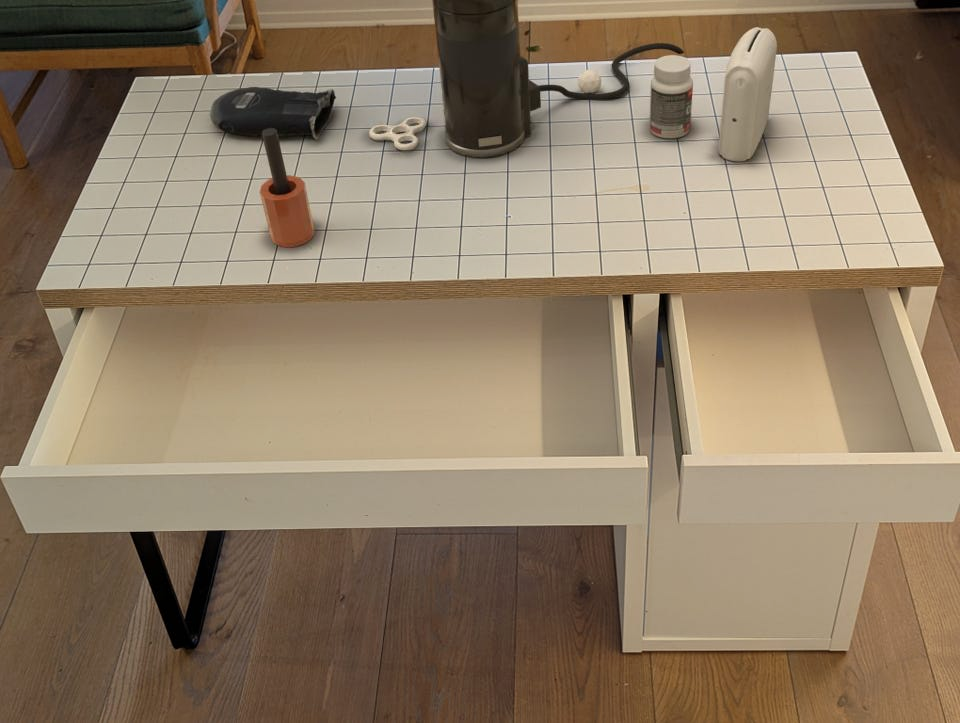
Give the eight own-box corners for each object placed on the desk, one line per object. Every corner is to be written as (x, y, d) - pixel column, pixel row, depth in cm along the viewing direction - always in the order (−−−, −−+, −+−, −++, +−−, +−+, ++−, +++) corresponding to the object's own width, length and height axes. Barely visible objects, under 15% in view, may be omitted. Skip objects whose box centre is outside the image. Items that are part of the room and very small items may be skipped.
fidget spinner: (422, 119, 132) (421, 113, 131) (438, 143, 127) (437, 138, 126) (367, 132, 130) (366, 126, 130) (381, 157, 126) (380, 151, 125)
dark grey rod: (295, 225, 116) (273, 126, 108) (301, 231, 115) (279, 132, 107) (282, 229, 115) (259, 131, 107) (288, 236, 114) (265, 137, 106)
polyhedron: (601, 87, 135) (601, 64, 133) (600, 98, 133) (601, 76, 131) (578, 87, 135) (578, 65, 133) (577, 98, 133) (577, 76, 131)
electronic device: (340, 114, 137) (228, 95, 139) (337, 78, 133) (221, 58, 134) (318, 161, 131) (201, 140, 133) (315, 125, 127) (194, 104, 129)
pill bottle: (693, 137, 124) (698, 70, 119) (653, 141, 124) (656, 74, 119) (685, 117, 128) (689, 51, 122) (645, 121, 128) (648, 55, 122)
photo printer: (751, 165, 119) (763, 62, 111) (713, 159, 121) (722, 56, 112) (771, 120, 126) (784, 19, 118) (735, 115, 127) (745, 15, 119)
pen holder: (303, 217, 118) (293, 170, 114) (321, 236, 115) (311, 189, 111) (264, 232, 116) (253, 185, 112) (282, 252, 113) (270, 204, 109)
